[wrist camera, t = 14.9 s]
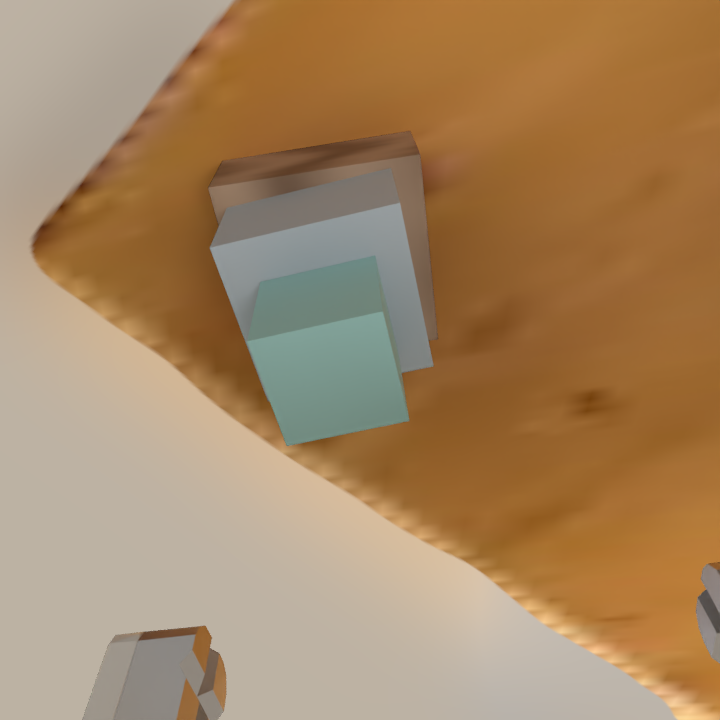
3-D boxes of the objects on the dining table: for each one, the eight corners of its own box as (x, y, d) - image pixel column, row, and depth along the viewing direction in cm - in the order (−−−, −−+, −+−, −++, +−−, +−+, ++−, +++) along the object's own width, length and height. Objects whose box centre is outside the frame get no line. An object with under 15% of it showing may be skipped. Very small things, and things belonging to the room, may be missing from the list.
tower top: (390, 167, 30) (400, 202, 26) (421, 315, 34) (433, 366, 30) (226, 207, 31) (209, 247, 27) (276, 347, 35) (268, 401, 31)
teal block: (375, 255, 27) (382, 311, 23) (398, 354, 30) (409, 420, 26) (260, 282, 28) (247, 341, 23) (293, 376, 30) (286, 446, 26)
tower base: (409, 129, 34) (420, 154, 30) (426, 297, 39) (438, 339, 35) (223, 159, 35) (208, 187, 30) (265, 321, 40) (257, 365, 36)
